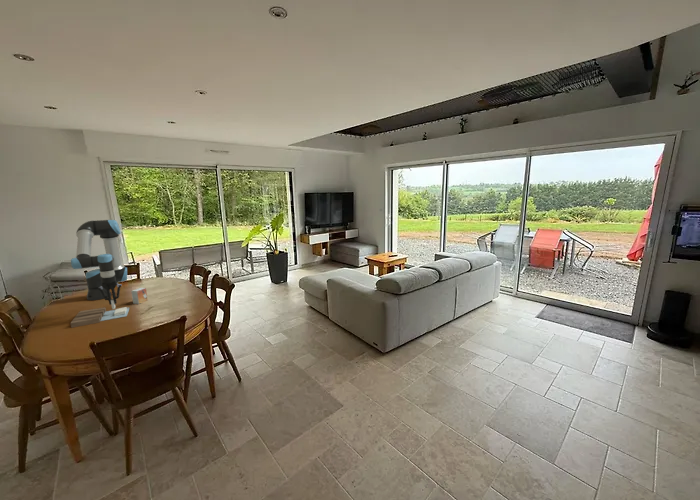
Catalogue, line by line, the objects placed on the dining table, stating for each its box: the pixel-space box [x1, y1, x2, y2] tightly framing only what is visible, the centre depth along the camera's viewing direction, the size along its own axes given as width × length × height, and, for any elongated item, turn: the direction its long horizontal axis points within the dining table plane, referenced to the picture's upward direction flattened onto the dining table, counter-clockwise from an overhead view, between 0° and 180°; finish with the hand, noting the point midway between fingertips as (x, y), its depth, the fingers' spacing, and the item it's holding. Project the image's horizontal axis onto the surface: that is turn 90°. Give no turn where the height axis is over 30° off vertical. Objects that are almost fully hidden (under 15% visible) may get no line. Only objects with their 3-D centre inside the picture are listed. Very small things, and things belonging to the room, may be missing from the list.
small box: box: [130, 287, 149, 305], centre depth 222 cm, size 8×6×10 cm
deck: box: [70, 306, 107, 329], centre depth 193 cm, size 22×14×3 cm, turn 32°
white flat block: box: [114, 306, 128, 316], centre depth 202 cm, size 9×6×2 cm, turn 32°
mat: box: [100, 307, 130, 322], centre depth 201 cm, size 18×14×1 cm
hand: (113, 308), depth 200 cm, fingers closed
